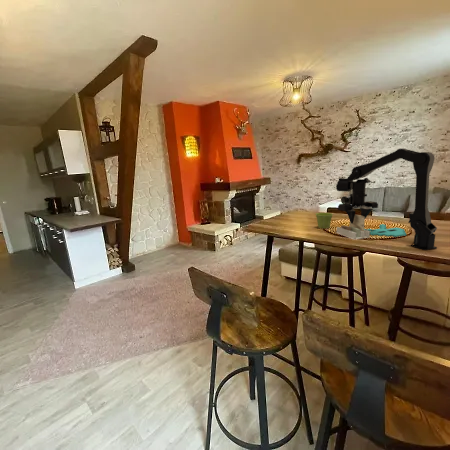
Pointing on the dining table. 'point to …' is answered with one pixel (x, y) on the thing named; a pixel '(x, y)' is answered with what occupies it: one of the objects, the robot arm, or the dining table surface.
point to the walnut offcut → (346, 227)
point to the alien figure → (387, 231)
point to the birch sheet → (358, 222)
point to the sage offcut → (356, 231)
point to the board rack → (352, 233)
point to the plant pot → (324, 219)
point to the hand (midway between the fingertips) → (356, 222)
